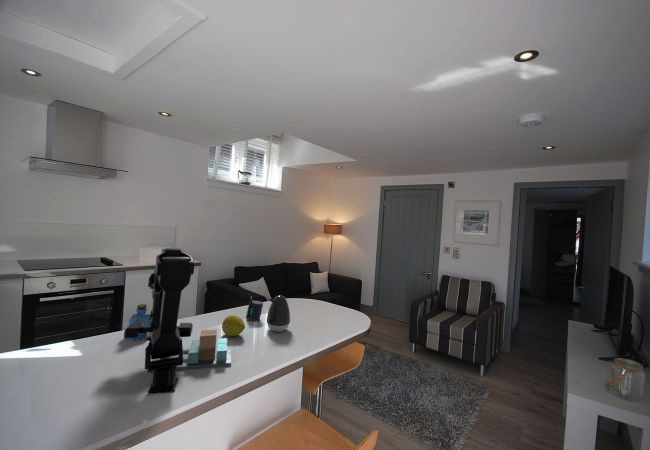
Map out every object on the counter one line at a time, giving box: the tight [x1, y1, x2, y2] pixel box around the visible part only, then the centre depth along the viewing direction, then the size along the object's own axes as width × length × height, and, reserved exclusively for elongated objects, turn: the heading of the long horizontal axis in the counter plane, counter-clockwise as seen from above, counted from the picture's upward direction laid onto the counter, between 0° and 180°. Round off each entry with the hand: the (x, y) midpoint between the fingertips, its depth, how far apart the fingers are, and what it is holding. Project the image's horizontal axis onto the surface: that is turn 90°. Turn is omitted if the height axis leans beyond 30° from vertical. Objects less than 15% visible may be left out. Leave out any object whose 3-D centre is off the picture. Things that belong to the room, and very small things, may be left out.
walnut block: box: [199, 329, 218, 360], centre depth 100 cm, size 5×5×8 cm
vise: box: [146, 337, 232, 374], centre depth 99 cm, size 24×12×5 cm, turn 108°
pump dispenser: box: [266, 294, 291, 333], centre depth 131 cm, size 10×10×15 cm
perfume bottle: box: [128, 303, 151, 342], centre depth 114 cm, size 6×6×12 cm
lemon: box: [221, 314, 246, 337], centre depth 121 cm, size 11×8×8 cm
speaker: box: [245, 296, 264, 322], centre depth 141 cm, size 8×6×10 cm
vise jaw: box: [160, 339, 200, 364], centre depth 98 cm, size 11×10×4 cm
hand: (157, 356), depth 95 cm, fingers closed
